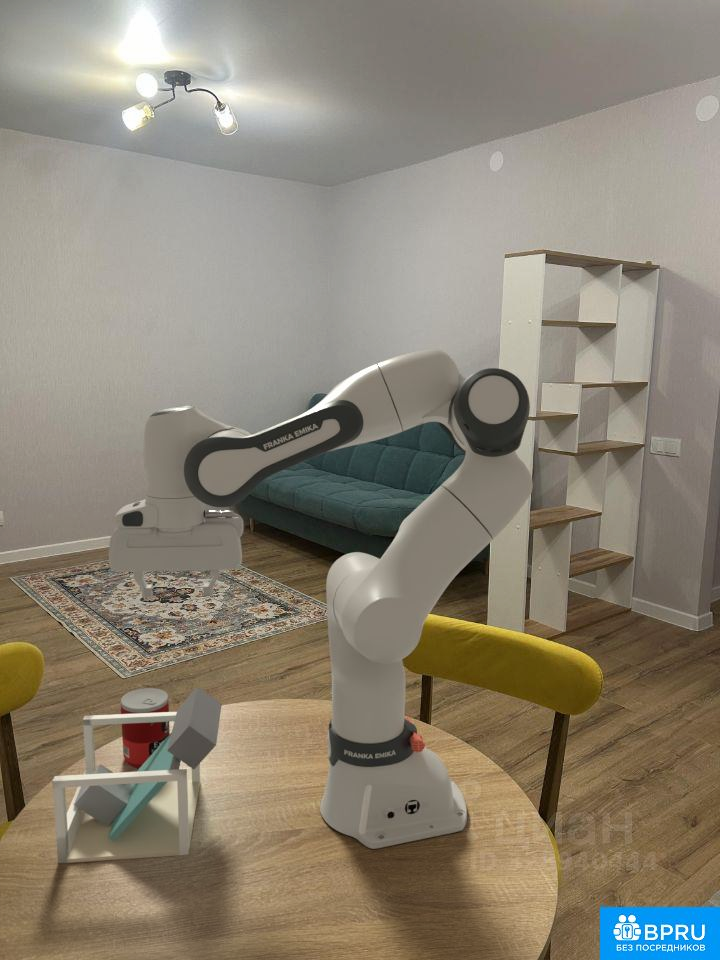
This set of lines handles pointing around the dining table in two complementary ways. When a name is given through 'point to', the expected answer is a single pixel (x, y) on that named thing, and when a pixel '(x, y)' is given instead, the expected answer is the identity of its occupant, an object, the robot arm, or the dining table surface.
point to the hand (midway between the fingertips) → (178, 596)
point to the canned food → (143, 725)
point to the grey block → (103, 799)
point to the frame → (153, 828)
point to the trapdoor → (175, 752)
